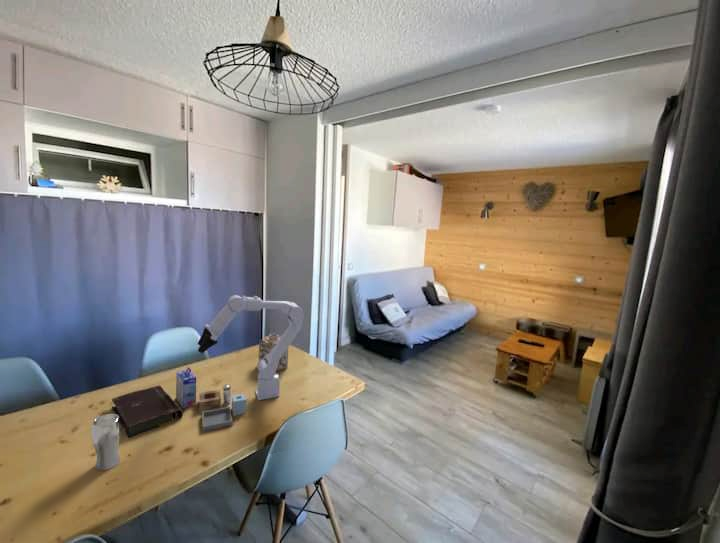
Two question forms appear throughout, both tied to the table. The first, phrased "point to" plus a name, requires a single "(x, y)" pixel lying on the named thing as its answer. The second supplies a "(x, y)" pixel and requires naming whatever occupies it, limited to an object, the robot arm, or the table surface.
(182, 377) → the ink cartridge box
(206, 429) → the tray
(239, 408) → the block
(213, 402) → the bore block
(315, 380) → the table surface
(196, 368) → the table surface
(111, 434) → the beer glass
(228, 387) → the cylinder
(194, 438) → the table surface
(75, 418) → the table surface
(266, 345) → the decorative jar
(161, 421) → the diary
